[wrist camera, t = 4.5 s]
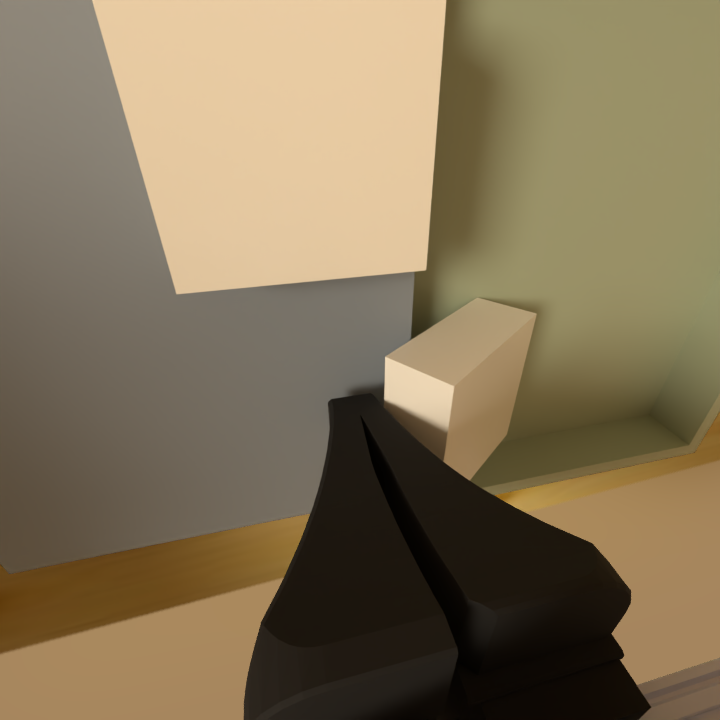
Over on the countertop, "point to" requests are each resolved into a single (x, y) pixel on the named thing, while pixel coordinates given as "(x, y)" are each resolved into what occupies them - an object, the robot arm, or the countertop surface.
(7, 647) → the countertop surface
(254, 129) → the tile
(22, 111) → the slate plate
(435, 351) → the tile
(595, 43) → the tray
